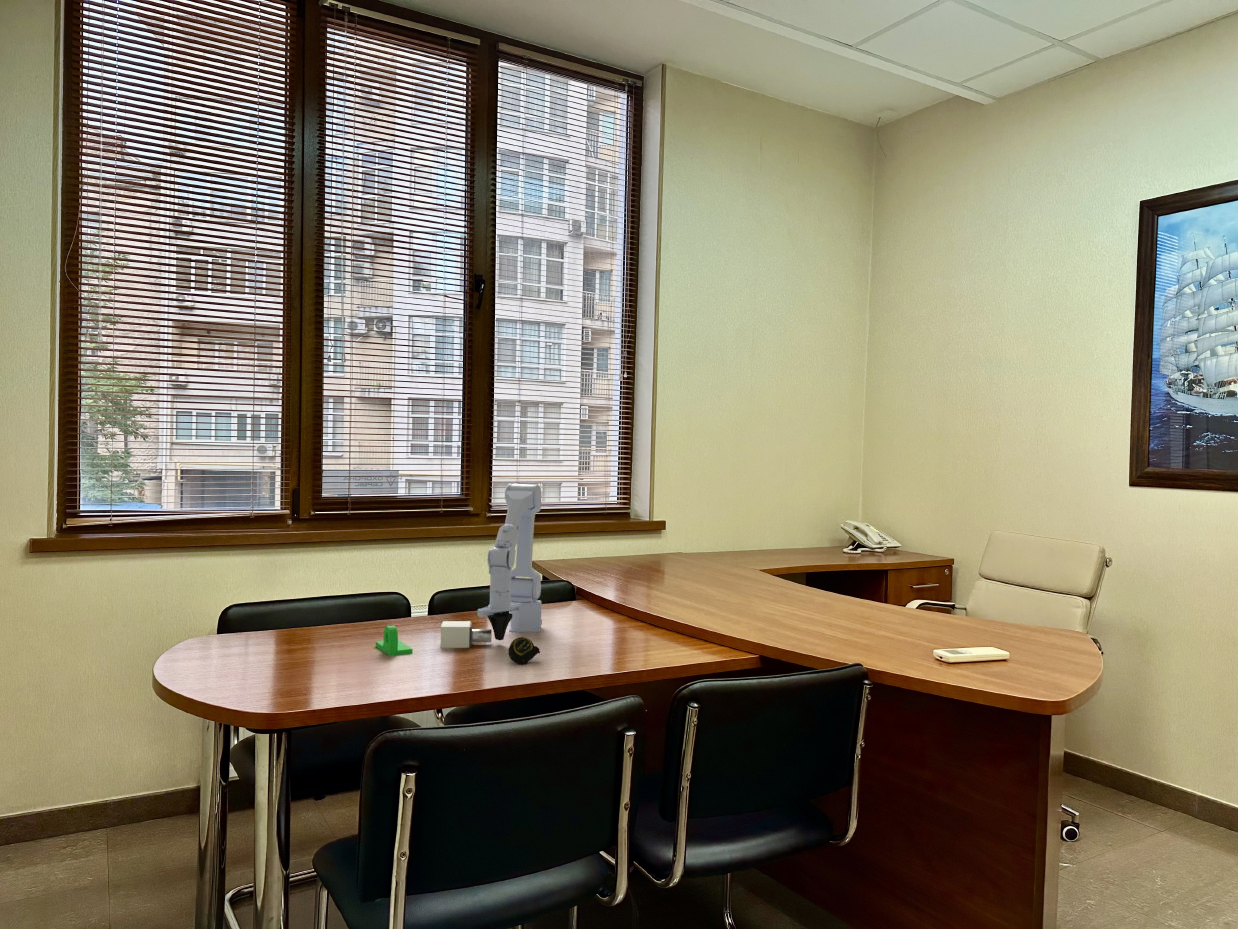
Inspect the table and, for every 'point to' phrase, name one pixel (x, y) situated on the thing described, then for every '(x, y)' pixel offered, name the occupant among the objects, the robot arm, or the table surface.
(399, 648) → the mechanical part
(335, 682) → the table surface
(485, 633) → the steel pin
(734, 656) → the table surface
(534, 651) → the tape measure
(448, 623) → the white block
